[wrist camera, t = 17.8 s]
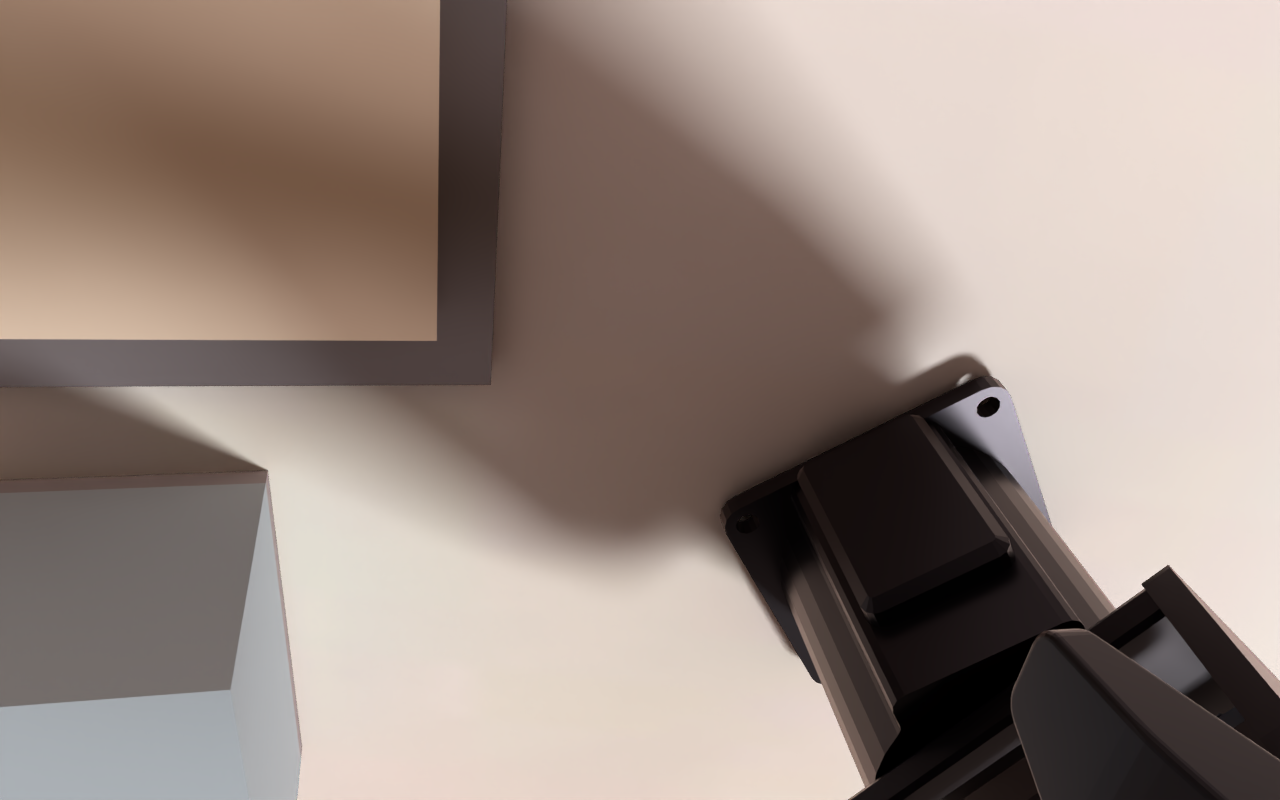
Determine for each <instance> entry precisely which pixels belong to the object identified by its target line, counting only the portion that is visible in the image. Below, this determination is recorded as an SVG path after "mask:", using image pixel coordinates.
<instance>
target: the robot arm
mask: <svg viewBox="0 0 1280 800" xmlns="http://www.w3.org/2000/svg"><path fill="white" fill-rule="evenodd" d="M988 397H990V399H989V401H988V402H986V403H985V404H984V405H982V406H978V405H979V403H980V402H981V401H982V400H984V399H985V398H988ZM746 515H752V517H750V518H749V519H748V520H745V521H738V520H739V519H740V518H742V517H743V516H746ZM720 518H721V521H722V524H723V527H724V529H725V532H726V535H727V536H728V538H729V540H730V541H731V543H732V545H733V546H734V548H735V550H736V551H737V553H738V555H739V556H740V558H741V560H742V561H743V563H744V565H745V566H746V568H747V570H748V572H749V573H750V575H751V577H752V578H753V580H754V582H755V583H756V585H757V587H758V588H759V590H760V592H761V593H762V595H763V597H764V598H765V600H766V602H767V603H768V605H769V607H770V608H771V610H772V612H773V613H774V615H775V617H776V618H777V620H778V622H779V624H780V625H781V627H782V629H783V630H784V632H785V634H786V635H787V637H788V639H789V640H790V642H791V644H792V645H793V647H794V649H795V650H796V652H797V654H798V655H799V657H800V659H801V660H802V662H803V664H804V665H805V667H806V669H807V671H808V672H809V674H810V676H811V677H812V679H813V680H814V681H815V682H817V683H820V684H822V685H823V688H824V690H825V693H826V695H827V697H828V700H829V702H830V704H831V707H832V709H833V712H834V714H835V716H836V719H837V721H838V723H839V726H840V728H841V731H842V733H843V735H844V738H845V740H846V743H847V745H848V747H849V750H850V752H851V754H852V757H853V759H854V762H855V764H856V766H857V769H858V771H859V773H860V776H861V778H862V781H863V783H864V785H865V788H864V789H862V790H861V791H860V792H858V793H857V794H855V795H854V796H853V797H851V798H850V799H848V800H1280V681H1279V680H1278V679H1277V678H1276V676H1275V675H1274V674H1273V673H1272V672H1271V671H1270V670H1269V669H1268V668H1267V667H1266V666H1265V665H1264V664H1263V663H1262V662H1261V661H1260V660H1259V659H1258V658H1257V656H1256V655H1255V654H1254V653H1253V652H1252V651H1251V650H1250V649H1249V648H1248V647H1247V646H1246V645H1245V644H1244V643H1243V642H1242V641H1241V640H1240V639H1239V638H1238V637H1237V636H1236V635H1235V634H1234V633H1233V632H1232V630H1231V629H1230V628H1229V627H1228V626H1227V625H1226V624H1225V623H1224V622H1223V621H1222V620H1221V619H1220V618H1219V617H1218V616H1217V615H1216V614H1215V613H1214V612H1213V611H1212V610H1211V609H1210V608H1209V607H1208V605H1207V604H1206V603H1205V602H1204V601H1203V600H1202V599H1201V598H1200V597H1199V596H1198V595H1197V594H1196V593H1195V592H1194V591H1193V590H1192V589H1191V588H1190V587H1189V586H1188V585H1187V584H1186V583H1185V582H1184V581H1183V579H1182V578H1181V577H1180V576H1179V575H1178V574H1177V573H1176V572H1175V571H1174V570H1173V569H1172V568H1171V567H1170V566H1169V565H1167V566H1166V567H1164V568H1163V569H1162V570H1160V571H1159V572H1157V573H1156V574H1155V575H1153V576H1152V577H1150V578H1149V579H1148V580H1146V581H1145V582H1143V583H1142V586H1143V587H1144V588H1145V589H1143V590H1142V591H1141V592H1139V593H1138V594H1136V595H1135V596H1134V597H1132V598H1131V599H1129V600H1128V601H1127V602H1125V603H1124V604H1122V605H1121V606H1120V607H1118V608H1117V609H1115V607H1114V606H1113V605H1112V603H1111V602H1110V601H1109V600H1108V598H1107V597H1106V596H1105V594H1104V593H1103V592H1102V590H1101V589H1100V588H1099V587H1098V585H1097V584H1096V583H1095V581H1094V580H1093V579H1092V577H1091V576H1090V575H1089V574H1088V572H1087V571H1086V570H1085V568H1084V567H1083V566H1082V565H1081V563H1080V562H1079V561H1078V559H1077V558H1076V557H1075V555H1074V554H1073V553H1072V552H1071V550H1070V549H1069V548H1068V546H1067V545H1066V544H1065V542H1064V541H1063V540H1062V539H1061V537H1060V536H1059V535H1058V533H1057V532H1056V531H1055V529H1054V528H1053V527H1052V525H1051V522H1050V518H1049V515H1048V512H1047V509H1046V506H1045V502H1044V499H1043V496H1042V493H1041V490H1040V487H1039V483H1038V480H1037V477H1036V474H1035V471H1034V468H1033V464H1032V461H1031V458H1030V455H1029V452H1028V449H1027V445H1026V442H1025V439H1024V436H1023V433H1022V430H1021V426H1020V423H1019V420H1018V417H1017V414H1016V411H1015V407H1014V404H1013V401H1012V398H1011V395H1010V394H1009V392H1008V391H1007V390H1006V389H1005V387H1004V386H1003V385H1002V384H1001V383H1000V381H999V380H997V379H995V378H993V377H984V376H983V377H980V378H977V379H974V380H972V381H970V382H968V383H966V384H963V385H961V386H959V387H957V388H955V389H953V390H951V391H949V392H947V393H945V394H943V395H941V396H939V397H937V398H935V399H933V400H931V401H929V402H927V403H925V404H923V405H921V406H919V407H917V408H914V409H912V410H910V411H908V412H906V413H904V414H902V415H900V416H898V417H896V418H894V419H892V420H890V421H888V422H886V423H884V424H882V425H880V426H878V427H876V428H874V429H872V430H870V431H868V432H865V433H863V434H861V435H859V436H857V437H855V438H853V439H851V440H849V441H847V442H845V443H843V444H841V445H839V446H837V447H835V448H833V449H831V450H829V451H827V452H825V453H823V454H821V455H819V456H816V457H814V458H812V459H810V460H808V461H806V462H804V463H802V464H800V465H798V466H796V467H794V468H792V469H790V470H788V471H786V472H784V473H782V474H780V475H778V476H776V477H774V478H772V479H770V480H768V481H765V482H763V483H761V484H759V485H757V486H755V487H753V488H751V489H749V490H747V491H745V492H743V493H741V494H739V495H737V496H735V497H733V498H732V499H730V500H729V501H727V502H726V504H725V505H724V506H723V508H722V510H721V514H720Z"/></svg>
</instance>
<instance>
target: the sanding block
mask: <svg viewBox="0 0 1280 800" xmlns="http://www.w3.org/2000/svg"><path fill="white" fill-rule="evenodd" d="M301 753H302V742H301V734H300V726H299V718H298V710H297V701H296V693H295V685H294V677H293V669H292V661H291V653H290V645H289V637H288V629H287V621H286V613H285V605H284V597H283V588H282V580H281V572H280V564H279V556H278V548H277V540H276V532H275V524H274V516H273V508H272V500H271V492H270V484H269V476H268V471H242V472H215V473H187V474H160V475H133V476H105V477H78V478H50V479H23V480H0V800H297V795H298V785H299V774H300V764H301Z"/></svg>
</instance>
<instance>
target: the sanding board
mask: <svg viewBox="0 0 1280 800" xmlns="http://www.w3.org/2000/svg"><path fill="white" fill-rule="evenodd" d="M506 12H507V0H0V387H111V386H323V385H491V364H492V341H493V317H494V294H495V270H496V247H497V223H498V200H499V176H500V153H501V129H502V106H503V82H504V59H505V35H506Z"/></svg>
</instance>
